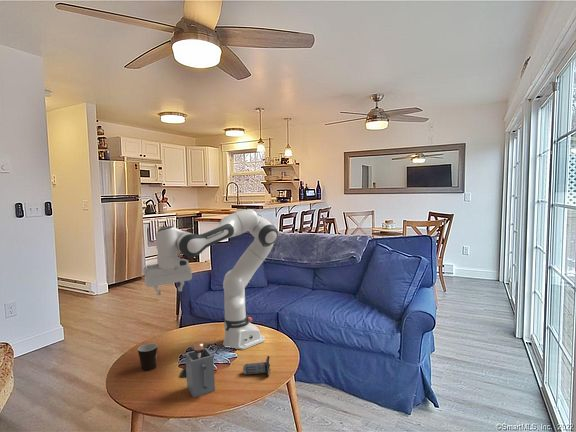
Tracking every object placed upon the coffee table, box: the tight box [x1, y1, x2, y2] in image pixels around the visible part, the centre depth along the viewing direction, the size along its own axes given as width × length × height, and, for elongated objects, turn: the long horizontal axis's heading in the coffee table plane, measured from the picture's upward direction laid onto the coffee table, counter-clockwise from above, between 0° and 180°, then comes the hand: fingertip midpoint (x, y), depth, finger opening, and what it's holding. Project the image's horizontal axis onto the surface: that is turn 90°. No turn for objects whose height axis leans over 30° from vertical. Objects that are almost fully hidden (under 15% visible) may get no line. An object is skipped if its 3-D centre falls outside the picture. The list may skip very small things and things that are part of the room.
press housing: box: [184, 347, 216, 398], centre depth 148 cm, size 9×12×15 cm
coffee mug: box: [137, 342, 158, 372], centre depth 170 cm, size 12×9×10 cm
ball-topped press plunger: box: [193, 341, 204, 359], centre depth 148 cm, size 6×6×14 cm
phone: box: [179, 365, 187, 379], centre depth 166 cm, size 8×1×15 cm
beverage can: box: [242, 355, 271, 378], centre depth 160 cm, size 9×8×12 cm
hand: (169, 292), depth 161 cm, fingers open, 8 cm apart
